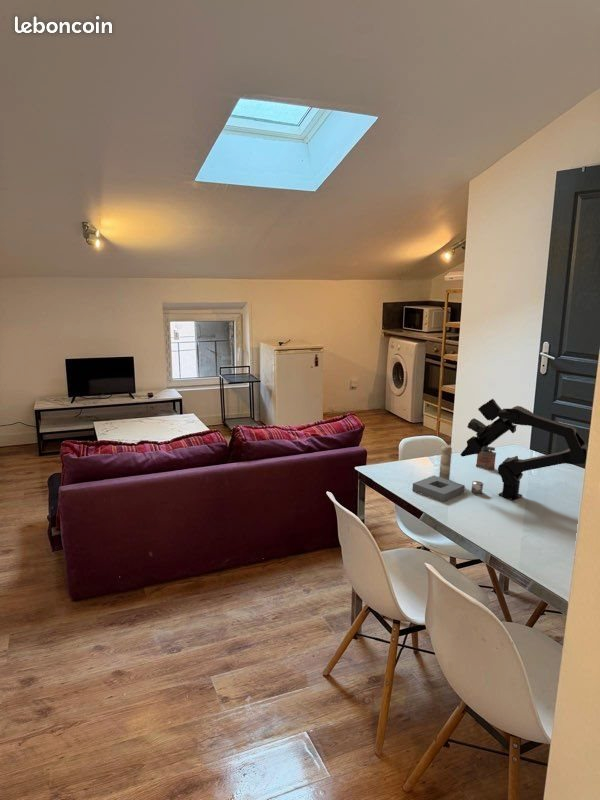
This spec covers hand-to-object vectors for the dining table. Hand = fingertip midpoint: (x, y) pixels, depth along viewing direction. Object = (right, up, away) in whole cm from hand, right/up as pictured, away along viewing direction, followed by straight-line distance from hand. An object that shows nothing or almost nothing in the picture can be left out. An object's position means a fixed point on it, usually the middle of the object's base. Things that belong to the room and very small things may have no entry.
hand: (465, 452), depth 208 cm
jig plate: (-12, -15, -4) cm, 19 cm away
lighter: (+16, -9, +24) cm, 30 cm away
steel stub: (+3, -15, -5) cm, 16 cm away
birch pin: (-6, -12, +8) cm, 16 cm away
